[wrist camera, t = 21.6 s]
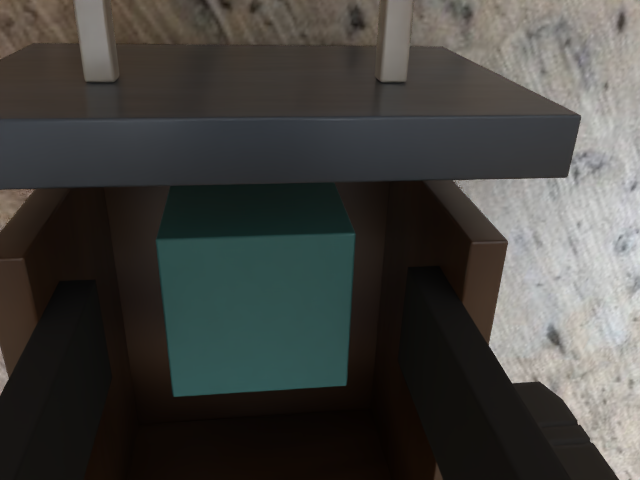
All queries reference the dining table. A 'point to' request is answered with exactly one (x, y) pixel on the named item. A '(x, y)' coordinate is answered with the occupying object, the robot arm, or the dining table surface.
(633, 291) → the dining table surface
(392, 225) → the drawer
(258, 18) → the dining table surface
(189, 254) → the block
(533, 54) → the dining table surface
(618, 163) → the dining table surface
